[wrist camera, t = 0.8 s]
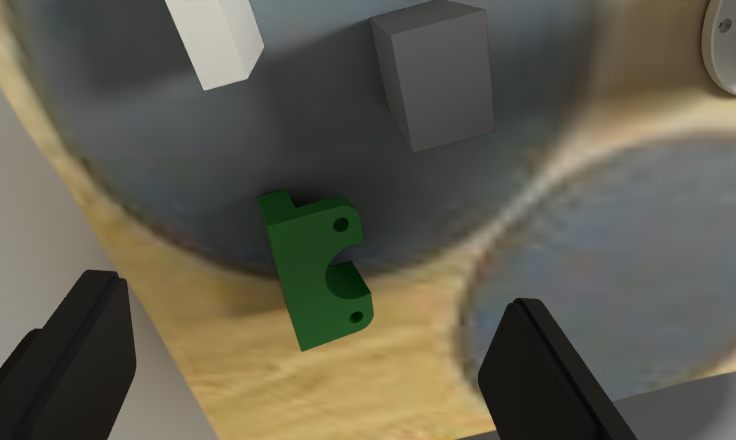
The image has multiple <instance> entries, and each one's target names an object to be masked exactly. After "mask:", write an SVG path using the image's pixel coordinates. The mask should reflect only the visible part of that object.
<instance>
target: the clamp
mask: <svg viewBox="0 0 736 440" xmlns="http://www.w3.org/2000/svg"><path fill="white" fill-rule="evenodd" d="M257 200H258V204H259V208H260V212H261V215H262V219H263V223H264V226H265V230H266V233H267V237H268V241H269V244H270V248H271V252H272V255H273V259H274V262H275V266H276V270H277V273H278V277H279V281H280V284H281V288H282V292H283V295H284V299H285V302H286V305H287V309H288V312H289V315H290V318H291V321H292V324H293V327H294V330H295V333H296V336H297V339H298V342H299V345H300V348H301V351H305V350H308V349H311V348H313V347H316V346H319V345H322V344H325V343H327V342H330V341H333V340H336V339H338V338H341V337H344V336H347V335H349V334H352V333H355V332H358V331H360V330H362V329H364V328H365V327H367V326H368V325H369V324H370V322H371V321H372V319H373V315H374V312H373V304H372V297H371V292H370V290H369V289H368V287H367V285H366V284H365V282H364V281H363V279H362V277H361V276H360V274H359V273H358V271H357V269H356V268H355V266H354V264H353V263H352V261H349V262H347V263H344V264H341V265H337V266H328V265H329V263H330V261H331V260H332V259H333V258H334V256H335V255H337V254H338V253H339V252H340V251H341V250H343V249H345V248H347V247H349V246H351V245H355V244H360V243H364V239H363V232H362V225H361V218H360V215H359V213H358V212H357V211H356V209H355V208H354V207H353V205H352V204H351V203H350V202H349V201H348V200H346V199H344V198H341V197H334V198H330V199H326V200H322V201H319V202H315V203H312V204H308V205H304V206H301V207H297V208H295V206H294V204H293V202H292V200H291V198H290V196H289V194H288V192H287V190H282V191H278V192H274V193H271V194H267V195H263V196H259V197H257Z"/></svg>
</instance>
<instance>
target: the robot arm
mask: <svg viewBox="0 0 736 440" xmlns="http://www.w3.org/2000/svg"><path fill="white" fill-rule="evenodd" d="M702 55H703V60H704V65H705V67H706V69H707V72H708V74H709V76H710V77H711V79H712V80H713V81H714V82H715V83H716V84H717V85H718V86H719V87H720V88H722V89H723V90H725V91H727V92H728V93H731V94H734V95H736V0H710V3H709V6H708V9H707V11H706V15H705V20H704V25H703V30H702ZM128 296H129V295H128V287H127V281H126V279H124V278H119V276H118V274H117V272H115V271H101V270H86V271H85V272H84V273H83V274H82V275H81V277H80V278H79V279H78V281H77V282H76V283H75V285H74V286H73V287H72V289H71V290H70V292H69V293H68V294H67V296H66V297H65V298H64V300H63V301H62V302H61V304H60V305H59V306H58V308H57V309H56V311H55V312H54V313H53V315H52V316H51V317H50V319H49V320H48V321H47V323H46V324H45V325H44V327H43V328H42V329H33V330H32V331H30V332H29V333H28V334H27V335H26V336H25V337H24V338H23V339H22V340H21V342H20V343H19V344H18V346H17V347H16V348H15V350H14V351H13V352H12V353H11V355H10V356H9V358H8V359H7V360H6V361H5V363H4V364H3V365H2V367H1V368H0V440H107V439H108V437H109V434H110V432H111V430H112V427H113V425H114V423H115V420H116V418H117V416H118V413H119V411H120V409H121V406H122V404H123V402H124V399H125V397H126V395H127V392H128V390H129V388H130V385H131V383H132V381H133V378H134V375H135V371H136V354H135V346H134V337H133V329H132V321H131V312H130V304H129V297H128ZM478 384H479V387H480V390H481V392H482V395H483V397H484V400H485V402H486V405H487V407H488V409H489V412H490V414H491V417H492V419H493V422H494V424H495V427H496V429H497V432H498V434H499V436H500V439H501V440H637V438H636V437H635V435H634V434H633V432H632V431H631V429H630V428H629V426H628V425H627V424H626V422H625V421H624V419H623V418H622V416H621V415H620V413H619V412H618V411H617V409H616V408H615V406H614V405H613V403H612V402H611V400H610V399H609V398H608V396H607V395H606V393H605V392H604V390H603V389H602V388H601V386H600V385H599V383H598V382H597V380H596V379H595V377H594V376H593V375H592V373H591V372H590V370H589V369H588V367H587V366H586V364H585V363H584V362H583V360H582V359H581V357H580V356H579V354H578V353H577V352H576V350H575V349H574V347H573V346H572V344H571V343H570V341H569V340H568V339H567V337H566V336H565V334H564V333H563V331H562V330H561V328H560V327H559V326H558V324H557V323H556V321H555V320H554V318H553V317H552V315H551V314H550V313H549V311H548V310H547V308H546V307H545V305H544V304H543V303H542V302H541V301H540V300H538V299H529V298H516V299H515V300H514V301H513V303H509V304H508V306H507V307H506V310H505V312H504V314H503V317H502V319H501V321H500V324H499V326H498V328H497V331H496V333H495V335H494V338H493V340H492V342H491V345H490V347H489V349H488V352H487V354H486V356H485V358H484V361H483V363H482V365H481V368H480V370H479V373H478Z"/></svg>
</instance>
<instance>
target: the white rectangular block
mask: <svg viewBox="0 0 736 440" xmlns="http://www.w3.org/2000/svg"><path fill="white" fill-rule="evenodd" d="M165 2H166V4H167V6H168V9H169V11H170V13H171V15H172V18H173V20H174V22H175V25H176V27H177V29H178V32H179V34H180V36H181V39H182V41H183V43H184V46H185V48H186V50H187V53H188V55H189V57H190V59H191V62H192V64H193V66H194V69H195V71H196V73H197V76H198V78H199V80H200V83H201V85H202V87H203V90H204V91H205V90H209V89H212V88H216V87H220V86H223V85H227V84H231V83H234V82H238V81H242V80H245V79H248V77H249V75H250V73H251V71H252V69H253V67H254V66H255V64H256V62H257V60H258V58H259V56H260V54H261V52H262V50H263V49H264V44H263V41H262V38H261V35H260V32H259V30H258V27H257V24H256V21H255V18H254V15H253V12H252V9H251V6H250V3H249V0H165Z"/></svg>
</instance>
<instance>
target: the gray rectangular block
mask: <svg viewBox="0 0 736 440" xmlns="http://www.w3.org/2000/svg"><path fill="white" fill-rule="evenodd" d="M369 19H370V24H371V29H372V33H373V38H374V43H375V47H376V52H377V57H378V62H379V66H380V71H381V76H382V80H383V85H384V90H385V95H386V99H387V104H388V109H389V112H390V113H391V115H392V117H393V119H394V120H395V122H396V124H397V126H398V127H399V129H400V131H401V132H402V134H403V136H404V138H405V139H406V141H407V143H408V145H409V146H410V148H411V150H412V152H413V153H416V152H419V151H423V150H427V149H431V148H434V147H438V146H442V145H446V144H449V143H453V142H457V141H460V140H464V139H468V138H472V137H475V136H479V135H483V134H486V133H490V132H494V131H495V122H494V110H493V98H492V85H491V73H490V61H489V48H488V36H487V24H486V12H485V9H480V8H476V7H472V6H468V5H464V4H459V3H455V2H451V1H447V0H433V1H430V2H426V3H422V4H419V5H415V6H411V7H408V8H404V9H400V10H397V11H393V12H389V13H386V14H382V15H379V16H375V17H371V18H369Z"/></svg>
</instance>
